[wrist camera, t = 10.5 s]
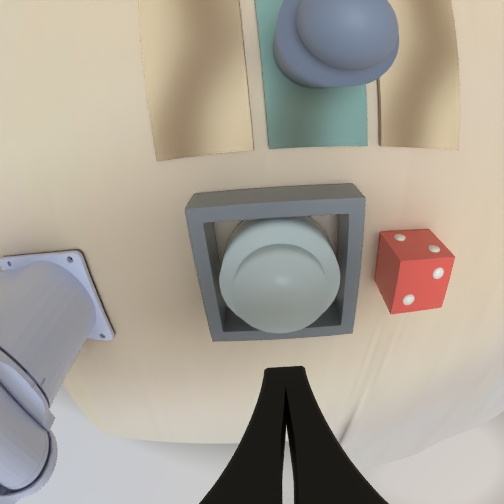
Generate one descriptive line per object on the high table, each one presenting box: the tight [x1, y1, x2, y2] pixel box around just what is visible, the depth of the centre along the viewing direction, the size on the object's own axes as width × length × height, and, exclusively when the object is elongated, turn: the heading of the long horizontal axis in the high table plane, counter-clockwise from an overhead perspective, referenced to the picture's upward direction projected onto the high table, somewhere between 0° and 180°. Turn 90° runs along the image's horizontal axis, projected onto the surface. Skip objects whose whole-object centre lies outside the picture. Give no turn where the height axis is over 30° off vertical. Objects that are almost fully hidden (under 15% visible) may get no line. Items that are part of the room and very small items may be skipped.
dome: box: [219, 216, 340, 333], centre depth 17 cm, size 6×6×4 cm
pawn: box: [273, 0, 399, 88], centre depth 9 cm, size 4×4×8 cm
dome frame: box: [185, 184, 365, 341], centre depth 18 cm, size 9×9×2 cm
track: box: [138, 0, 460, 161], centre depth 13 cm, size 17×10×1 cm, turn 95°
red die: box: [375, 229, 455, 314], centre depth 17 cm, size 4×4×4 cm
